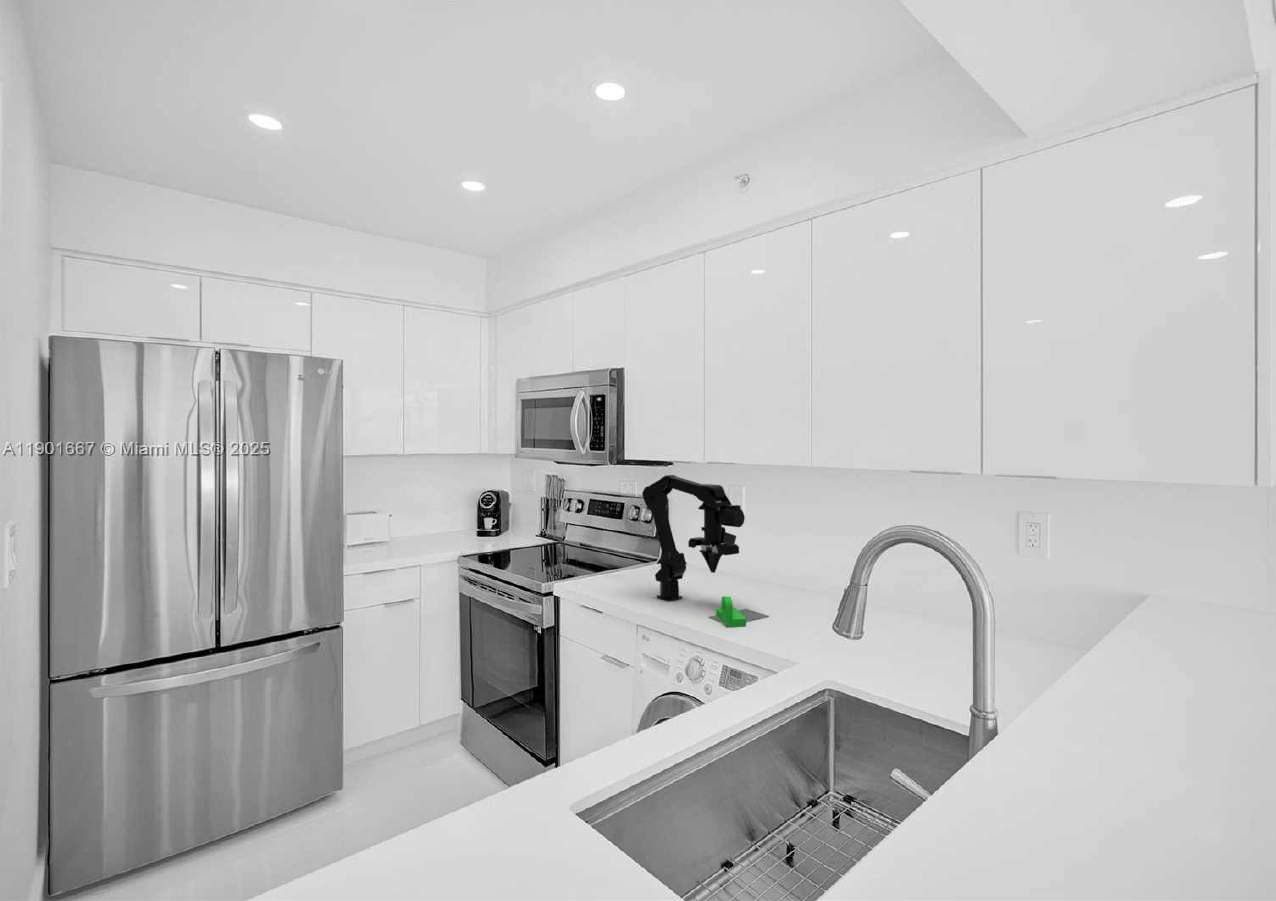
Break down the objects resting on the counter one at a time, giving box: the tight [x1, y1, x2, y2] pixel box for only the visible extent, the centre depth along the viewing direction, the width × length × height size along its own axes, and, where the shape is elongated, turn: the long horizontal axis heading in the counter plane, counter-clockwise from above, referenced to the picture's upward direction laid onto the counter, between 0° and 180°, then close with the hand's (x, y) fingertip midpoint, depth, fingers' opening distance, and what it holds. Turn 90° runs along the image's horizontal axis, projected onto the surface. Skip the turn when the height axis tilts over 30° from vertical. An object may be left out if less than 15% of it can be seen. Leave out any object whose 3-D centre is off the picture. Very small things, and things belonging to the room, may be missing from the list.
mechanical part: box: [715, 595, 747, 627], centre depth 187 cm, size 12×6×8 cm, turn 6°
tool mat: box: [708, 608, 769, 624], centre depth 190 cm, size 10×16×1 cm, turn 124°
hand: (713, 572), depth 200 cm, fingers closed
